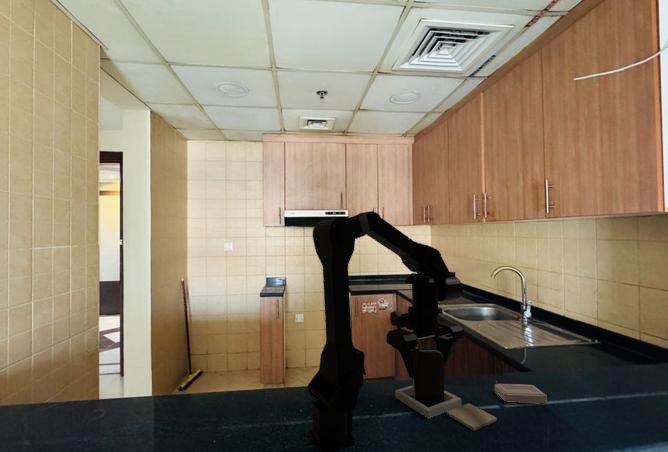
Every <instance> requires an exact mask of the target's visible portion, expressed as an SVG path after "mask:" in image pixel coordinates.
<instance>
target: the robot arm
mask: <svg viewBox="0 0 668 452" xmlns="http://www.w3.org/2000/svg"><path fill="white" fill-rule="evenodd" d="M365 236H368V237H370V238H371V239H373V240H374V241H375V242H377V243H378V244H380V245H382V246H383V247H385V248H387V250H389V251H391V252H392V253H394V254H395V255H396V256H398V257H399V258H400V260H401V263H402V264H403V266H405V267H406V268H407V269H408V270H409V271H410V275H409V276H408V277H406V279H405V280H404V283H405V284H408V285H411V299H412V300H411V303H412V304H411V306H408V307H407V313H401V310H394V311H391V312H390V315H389V320H390V324H391V326H396V329H392V330H389V331H387V333H386V340H385V342H386V344H387V345H389V346H391V347H392V348H393V349H396V350H397V351H398V352H399V354H400V357H401V358H402V361H403V363H404V366H405V369H406V372H407V374H408V377H409V378H410V379H412V380H413V378H414V376H415V372H416V366H417V359H418V353H419V349H418V345H419V341H423V340H428V339H432V338H433V341H434V342H435V344H436V350H438V351H439V352H440V353H441V354H442V355H443V358H444V369H445V367H446V366H447V364H448V362H449V360H450V358H451V355H452V353H453V351H454V350H455V349H456V347H457V345H458V344H460V343H461V342H460V341H461V340H460V339H464V329H463V327H461V325H459V324H456V323H452V322H449V321H440V319H439V318H440V316H439V315H442V314H443V311H444V310H443V308H441V307H439V302H444V301H446V302H447V301H452V300H458V299H460V298H461V297H462V296H463V294H464V286H463V284H462V281H461V280H460V279H459V278H458V277H457V276H456V272H455V271H450V270H449V268H448V266H447V263H445V260H444V259H443V257H442V254H441V251H440V250H439V249H437V248H434V247H433V246H430V245H428V244H424V243H420V242H417V241H414V239H412V238H411V237H410V236H407V235H406V234H405V233H403V232H402V231H400V230H399V229H398V228H396V227H395V226H393V225H392V224H390V223H389V222H388V221H387V220H385V219H384V218H383V217H381V215H380V214H379V213H378V212H375V211H373V210H371V211H365V212H359V213H358V214H356V215H353V216H349V217H342V216H341V217H337V218H330V219H324V220H321V221H319V222H317V224H316V225H315V226H314V227H313V229H312V241H313V245H314V250H315V253H316V255H317V257H318V261H319V262H320V263H321V267H322V276H323V277H322V278H323V300H324V301H323V302H324V317H325V320H324V321H325V341H326V342H325V344H324V346H323V348H322V351H321V354H320V358H319V369H318V370H317V372H316V373H315V374H314V376H313V377H312V378H311V380H310V381H309V383H308V384H307V386H306V389H307V391H308V394H309V396H310V397H311V398H313V399H314V400H315V401H313V402H312V408H311V409H312V410H311V412H312V415H311V416H312V422H311V423H312V424H311V425H312V426H311V428H312V429H309V430H308V432H307V433H308V436H309V438H311V440H312V441H313V442H314V444H315V445H316V446H317V448H318V449H319V450H320V452H334V451H336V450H339V449H342V448H344V447H347V446H350V445H352V444H355V443H356V437H355V436H354V435H353V434H352V433H353V427H354V426H353V423H354V422H353V411H354V410H355V409H356V407H357V404H358V399H359V395H360V391H361V388H362V387H363V385H364V379H365V378H364V376H366V375H367V373H366V370H365V358H366V357H365V352H364V351H362V350H361V349H358V348H356V347H355V346H354V344H353V336H352V318H351V317H352V315H351V300H350V299H351V297H350V278H349V277H350V276H349V275H350V274H349V265H350V261H351V259H352V256H353V254H354V252H355V248H356V247H355V245H356V240H357V239H359V238H362V237H365ZM404 328H406V330H405V329H404ZM408 330H409V331H408ZM411 331H412V332H411Z"/></svg>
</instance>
